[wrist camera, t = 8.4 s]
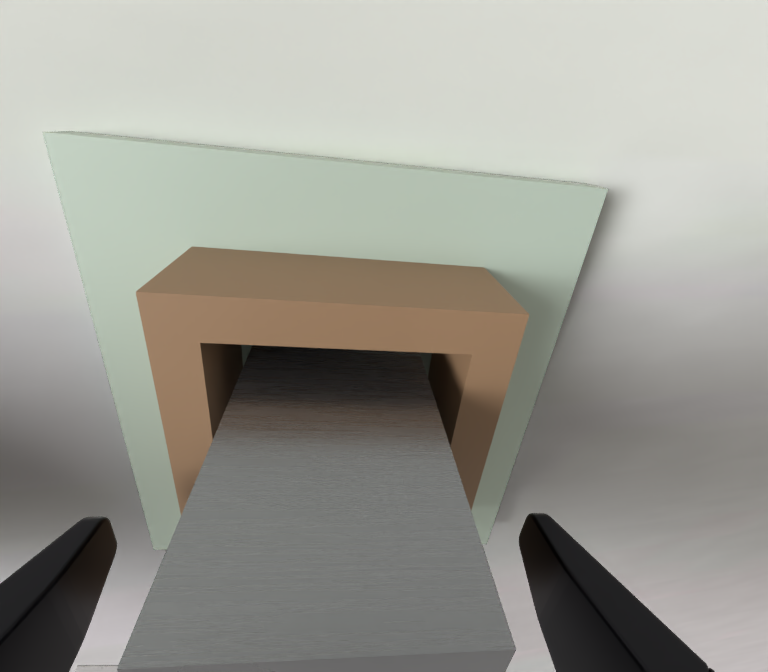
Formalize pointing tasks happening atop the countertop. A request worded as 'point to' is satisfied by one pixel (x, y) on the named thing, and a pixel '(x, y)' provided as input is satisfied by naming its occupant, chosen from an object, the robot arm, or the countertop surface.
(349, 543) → the brushed grey metal block
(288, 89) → the countertop surface
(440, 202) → the post socket
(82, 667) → the hinge
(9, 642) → the robot arm
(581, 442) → the countertop surface
